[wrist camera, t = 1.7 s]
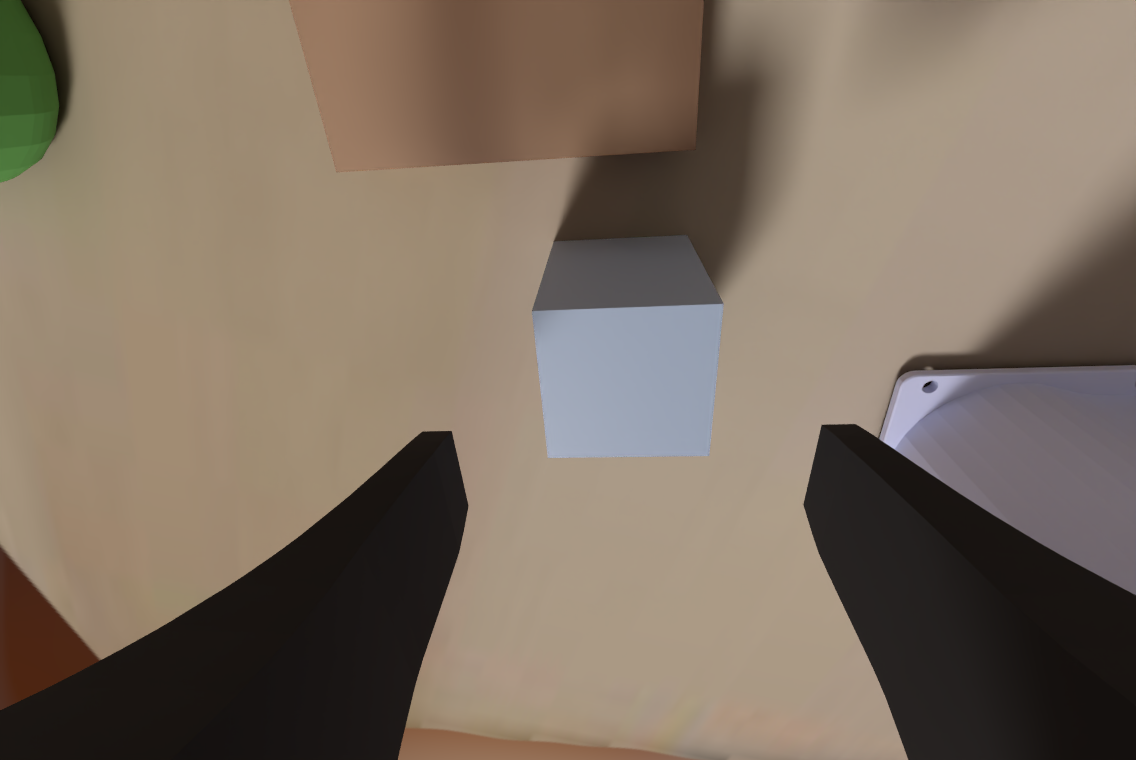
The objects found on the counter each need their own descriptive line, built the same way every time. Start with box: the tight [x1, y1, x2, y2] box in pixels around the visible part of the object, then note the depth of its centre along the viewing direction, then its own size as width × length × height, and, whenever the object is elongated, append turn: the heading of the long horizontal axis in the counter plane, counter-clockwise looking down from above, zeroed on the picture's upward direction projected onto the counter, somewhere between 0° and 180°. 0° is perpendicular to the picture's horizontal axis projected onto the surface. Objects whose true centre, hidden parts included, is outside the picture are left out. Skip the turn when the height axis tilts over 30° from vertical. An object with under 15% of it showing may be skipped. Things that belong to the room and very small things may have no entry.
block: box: [532, 235, 723, 458], centre depth 15 cm, size 4×4×6 cm
